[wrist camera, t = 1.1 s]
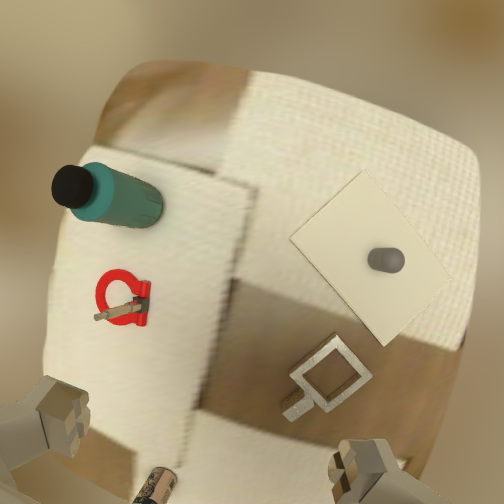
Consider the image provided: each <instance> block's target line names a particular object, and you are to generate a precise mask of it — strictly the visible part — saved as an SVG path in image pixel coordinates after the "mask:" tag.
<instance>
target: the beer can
mask: <svg viewBox="0 0 504 504" xmlns="http://www.w3.org/2000/svg"><path fill="white" fill-rule="evenodd" d="M176 483H177V479H176V477H175V475H174V474H173V473H172V472H170V471H169V470H167V469H164V468H155V469H154V470H153V471H152V472H151V474H150V476H149V477H148V479H147V481H146V482H145V484H144V485H143V487H142V489H141V490H140V492H139V493H138V495H137V496H136V498H135V500H134V501H133V503H132V504H166V503H167V501H168V499H169V497H170V495H171V493H172V491H173V489H174V487H175V485H176Z"/></svg>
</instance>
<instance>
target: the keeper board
mask: <svg viewBox="0 0 504 504" xmlns="http://www.w3.org/2000/svg"><path fill="white" fill-rule="evenodd" d="M289 239H290V240H291V241H292V242H293V243H294V244H295V245H296V247H297V248H298V249H299V250H300V251H301V252H302V253H303V254H304V256H305V257H306V258H307V259H308V260H309V261H310V262H311V263H312V264H313V266H314V267H315V268H316V269H317V270H318V271H319V272H320V274H321V275H322V276H323V277H324V278H325V279H326V280H327V281H328V283H329V284H330V285H331V286H332V287H333V288H334V289H335V291H336V292H337V293H338V294H339V295H340V296H341V298H342V299H343V300H344V301H345V302H346V303H347V304H348V306H349V307H350V308H351V309H352V310H353V311H354V313H355V314H356V315H357V316H358V317H359V318H360V320H361V321H362V322H363V323H364V324H365V325H366V327H367V328H368V329H369V330H370V331H371V333H372V334H373V335H374V336H375V337H376V338H377V340H378V341H379V342H380V343H381V344H382V345H383V346H386V345H387V344H388V343H389V342H390V341H391V340H392V339H393V338H394V337H395V336H396V335H397V334H398V333H399V332H400V331H401V330H403V329H404V328H405V327H406V326H407V325H408V324H409V323H410V322H411V321H412V320H413V319H414V318H415V317H416V316H417V315H418V314H419V313H420V312H421V311H422V310H423V309H424V308H425V306H426V305H427V304H428V303H429V302H430V301H431V300H432V299H433V298H434V297H435V296H436V295H437V294H438V293H439V292H440V291H441V289H442V288H443V287H444V286H445V285H446V284H447V283H448V282H449V281H450V279H451V278H452V277H451V276H450V274H449V273H448V271H447V270H446V269H445V267H444V266H443V264H442V263H441V262H440V260H439V259H438V258H437V256H436V255H435V253H434V252H433V251H432V249H431V248H430V247H429V245H428V244H427V243H426V241H425V240H424V239H423V238H422V236H421V235H420V234H419V232H418V231H417V230H416V229H415V227H414V226H413V225H412V224H411V222H410V221H409V220H408V219H407V217H406V216H405V215H404V214H403V212H402V211H401V210H400V209H399V208H398V206H397V205H396V204H395V203H394V202H393V200H392V199H391V198H390V197H389V196H388V195H387V193H386V192H385V191H384V190H383V189H382V188H381V187H380V185H379V184H378V183H377V182H376V181H375V180H374V179H373V177H372V176H371V175H370V174H369V173H368V172H367V171H366V170H365V169H364V170H363V171H362V172H361V173H360V174H359V175H358V176H357V177H356V178H355V179H354V180H353V181H351V182H350V183H349V184H348V185H347V186H346V187H345V188H344V189H343V190H342V191H341V192H340V193H338V194H337V195H336V196H335V197H334V198H333V199H332V200H331V201H330V202H329V203H328V204H327V205H325V206H324V207H323V208H322V209H321V210H320V211H319V212H318V213H317V214H316V215H314V216H313V217H312V218H311V219H310V220H309V221H308V222H307V223H306V224H305V225H304V226H302V227H301V228H300V229H299V230H298V231H297V232H296V233H295V234H294V235H293V236H291V237H290V238H289Z"/></svg>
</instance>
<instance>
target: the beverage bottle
mask: <svg viewBox="0 0 504 504" xmlns="http://www.w3.org/2000/svg"><path fill="white" fill-rule="evenodd" d="M144 182H145V181H141V180H140V181H139V179H137V178H136V177H135V178H133V176H128V175H126V174H124V173H121V172H118V171H116V170H114V169H111V168H109V167H107V166H106V165H104V164H102V163H98V162H93V163H88V164H86V165H84V166H82V167H80V166H74V165H66V166H64V167H62V168H61V169H60V170H59V171H58V172H57V173H56V175H55V177H54V179H53V182H52V188H51V189H52V196H53V198H54V200H55V201H56V202H57V203H58V204H60V205H62V206H65V207H67V208H70V210H71V212H72V213H73V214H74V215H75V216H76V217H77V218H78V219H80V220H82V221H87V222H91V221H92V222H99V223H106V224H111V225H116V226H117V225H119V227H120V226H128V227H129V228H134V227H136V228H145V227H148V226H150V225H151V224H154V223H155V222H156V220H157V219H158V217H159V216H160V213H161V210H162V200H161V199H162V198H161V197H160V196H161V195H160V194H159V193H158V192H159V191H157V190H156V189H155V188H154V187H152V186H153V185H151V184H149V183H147V184H146V182H145V183H144ZM148 184H149V185H148ZM134 229H135V228H134Z"/></svg>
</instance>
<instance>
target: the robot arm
mask: <svg viewBox="0 0 504 504" xmlns="http://www.w3.org/2000/svg"><path fill="white" fill-rule="evenodd" d="M88 402H89V395H88V392H87V391H85V390H82V389H79V388H77V387H74V386H72V385H70V384H67V383H65V382H62V381H59V380H57V379H55V378H52V377H50V376H48V375H46V376H44V377H42V379H41V380H40V381H39V382H38V383H37V385H36V386H35V387H34V388H33V389H32V390H31V391H30V393H29V394H28V395H27V396H26V398H25V399H24V400H23V401H22V402H21V403H20V402H18V401H16V402H13V403H10V404H6V405H3V406H0V504H42V503H39V502H37V501H35V500H34V499H32V498H30V497H28V496H26V495H24V494H22V493H20V492H18V491H17V490H16V489H17V486H16V483H15V481H14V479H13V478H12V476H11V474H10V471H12V470H14V469H16V468H18V467H20V466H22V465H24V464H25V463H27V462H29V461H31V460H33V459H35V458H37V457H39V456H40V455H42V454H44V453H46V452H48V451H49V450H51V451H54V452H56V453H59V454H61V455H64V456H66V457H69V458H71V459H73V457H74V455H75V453H76V451H77V449H78V448H79V446H80V443H79V438H81V437H83V436H85V434H86V432H87V430H88V427H89V424H90V410H89V408H88V407H87V403H88ZM338 448H339V452H337V453H335V454H334V455H333V456H332V458H331V460H330V461H329V466H328V476H329V480H330V481H331V482H333V483H334V484H335V485H334V487H333V488H332V493H333V497H334V501H335V504H451V502H449V501H448V500H446V499H445V498H443V497H442V496H440V495H439V494H437V493H436V492H434V491H433V490H431V489H430V488H428V487H427V486H425V485H424V484H422V483H421V482H420V481H418V480H417V479H415V478H414V477H412V476H411V475H410V474H408V473H407V472H405V471H401V470H400V468H399V466H398V464H397V461H396V459H395V457H394V455H393V453H392V451H391V449H390V446H389V444H388V442H387V441H386V440H385V439H344V440H343V441H341V443H340V444H339V446H338Z"/></svg>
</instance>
